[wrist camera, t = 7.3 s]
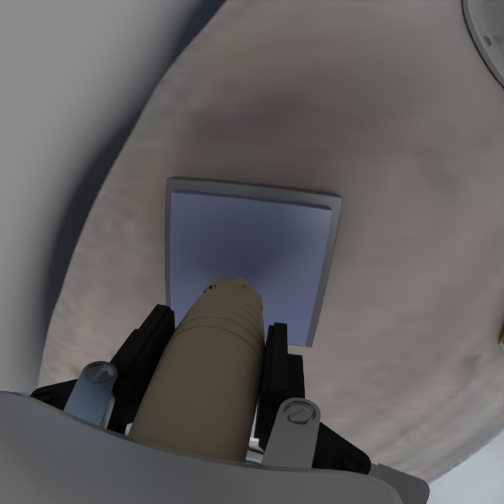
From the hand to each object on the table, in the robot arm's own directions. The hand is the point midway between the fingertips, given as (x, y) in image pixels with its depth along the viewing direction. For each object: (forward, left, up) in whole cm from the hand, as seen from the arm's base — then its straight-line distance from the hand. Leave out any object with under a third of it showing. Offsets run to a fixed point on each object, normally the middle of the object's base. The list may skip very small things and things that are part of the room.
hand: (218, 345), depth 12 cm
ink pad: (0, 0, -9) cm, 9 cm away
